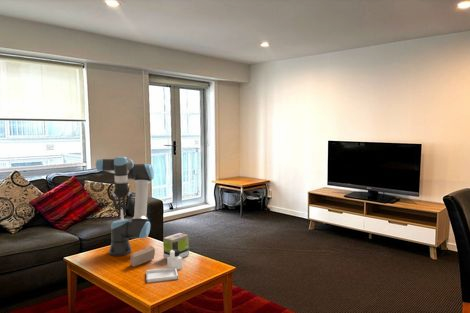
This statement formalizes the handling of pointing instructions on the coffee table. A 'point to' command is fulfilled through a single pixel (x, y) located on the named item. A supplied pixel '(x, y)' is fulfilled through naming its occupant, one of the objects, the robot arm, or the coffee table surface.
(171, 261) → the medicine bottle
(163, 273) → the tray
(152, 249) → the brick
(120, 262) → the coffee table surface
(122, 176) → the robot arm
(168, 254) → the tea box
